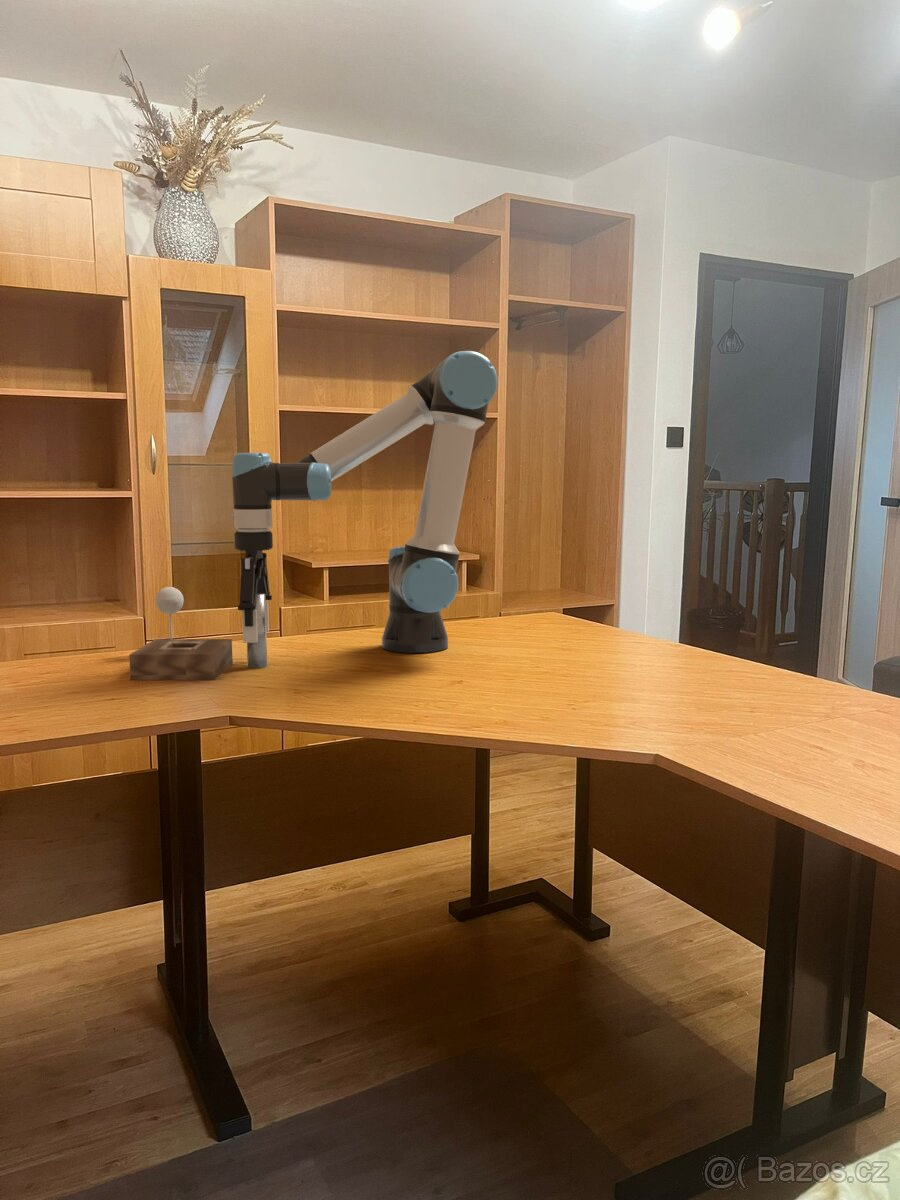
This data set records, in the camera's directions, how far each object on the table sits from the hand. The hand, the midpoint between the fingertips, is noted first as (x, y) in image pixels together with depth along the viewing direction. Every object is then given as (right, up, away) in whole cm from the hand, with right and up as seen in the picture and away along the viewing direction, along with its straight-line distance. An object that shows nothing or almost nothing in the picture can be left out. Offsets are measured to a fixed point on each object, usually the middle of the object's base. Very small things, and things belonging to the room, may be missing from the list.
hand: (256, 636), depth 184 cm
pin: (0, -6, +1) cm, 6 cm away
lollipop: (-21, -5, +12) cm, 25 cm away
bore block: (-14, -7, -3) cm, 16 cm away
